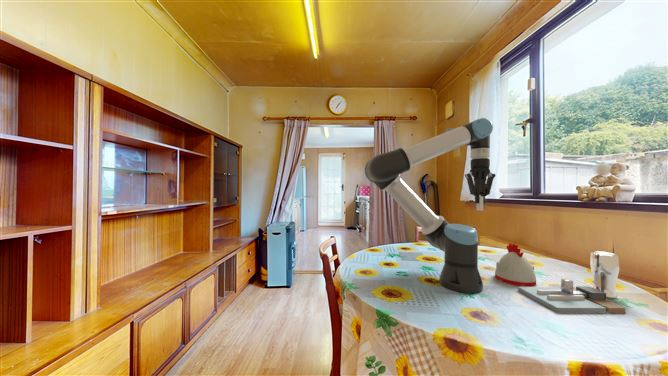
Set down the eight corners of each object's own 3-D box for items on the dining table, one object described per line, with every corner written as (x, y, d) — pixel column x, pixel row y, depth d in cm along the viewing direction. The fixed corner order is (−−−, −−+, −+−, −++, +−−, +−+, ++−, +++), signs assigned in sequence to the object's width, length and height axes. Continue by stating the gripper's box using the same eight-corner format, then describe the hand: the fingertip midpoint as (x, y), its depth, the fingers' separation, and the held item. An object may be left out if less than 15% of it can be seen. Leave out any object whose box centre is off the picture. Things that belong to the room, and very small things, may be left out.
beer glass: (625, 300, 84) (625, 256, 84) (601, 298, 85) (601, 255, 85) (607, 291, 91) (607, 251, 91) (585, 290, 92) (585, 250, 92)
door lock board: (557, 312, 75) (557, 299, 75) (518, 290, 91) (518, 280, 91) (625, 313, 75) (625, 300, 75) (574, 291, 91) (574, 280, 91)
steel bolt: (566, 297, 81) (566, 282, 81) (558, 293, 84) (558, 278, 84) (596, 297, 81) (596, 282, 81) (587, 293, 84) (587, 278, 84)
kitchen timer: (518, 274, 109) (518, 241, 109) (545, 286, 95) (545, 248, 95) (487, 274, 109) (487, 241, 109) (511, 286, 95) (511, 248, 95)
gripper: (470, 157, 106) (470, 211, 106) (499, 157, 106) (499, 211, 106) (461, 159, 114) (461, 209, 114) (489, 159, 114) (488, 209, 114)
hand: (479, 210), depth 110 cm, fingers closed
